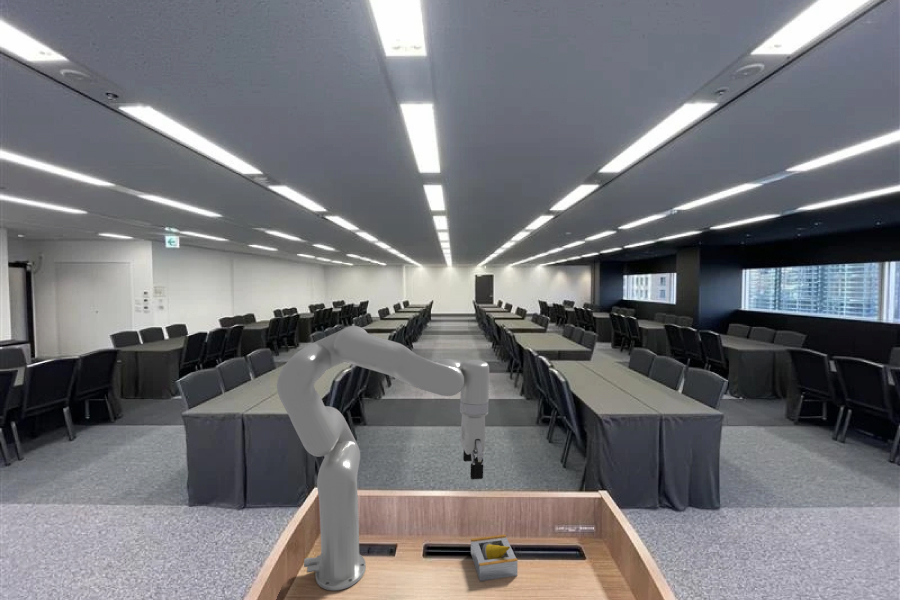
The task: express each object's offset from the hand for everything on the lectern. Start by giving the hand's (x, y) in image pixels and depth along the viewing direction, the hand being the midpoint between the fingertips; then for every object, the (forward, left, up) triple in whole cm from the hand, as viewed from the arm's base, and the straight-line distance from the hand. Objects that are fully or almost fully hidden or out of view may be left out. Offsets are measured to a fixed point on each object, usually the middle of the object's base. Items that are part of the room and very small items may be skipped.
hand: (472, 469), depth 105 cm
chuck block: (+5, -3, -25) cm, 26 cm away
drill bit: (+4, -4, -25) cm, 26 cm away
